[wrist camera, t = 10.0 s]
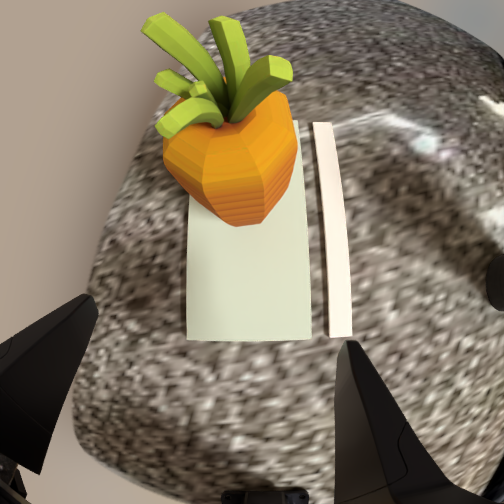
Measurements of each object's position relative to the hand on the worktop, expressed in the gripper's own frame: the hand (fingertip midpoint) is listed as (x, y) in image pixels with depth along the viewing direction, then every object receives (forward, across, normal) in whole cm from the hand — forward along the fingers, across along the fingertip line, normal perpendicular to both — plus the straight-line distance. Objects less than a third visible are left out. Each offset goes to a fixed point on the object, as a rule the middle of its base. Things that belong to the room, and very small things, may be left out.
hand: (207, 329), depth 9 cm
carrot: (+12, 0, +2) cm, 12 cm away
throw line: (+12, -6, +2) cm, 13 cm away
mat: (+12, 0, +2) cm, 12 cm away
